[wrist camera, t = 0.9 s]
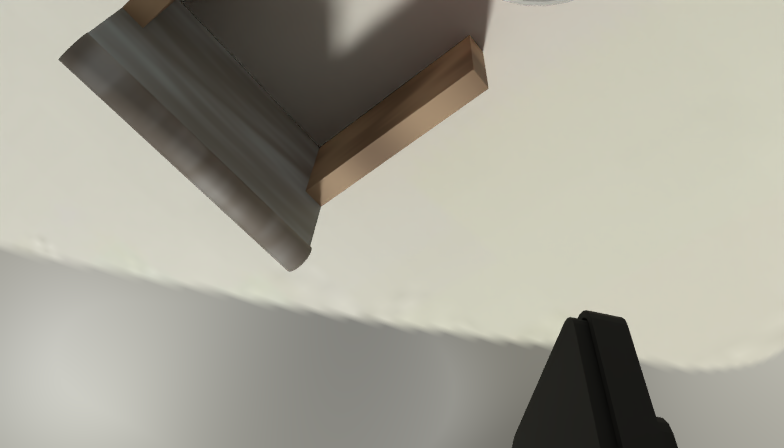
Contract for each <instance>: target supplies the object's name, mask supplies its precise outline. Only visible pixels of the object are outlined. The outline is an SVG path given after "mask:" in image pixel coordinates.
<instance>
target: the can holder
mask: <svg viewBox="0 0 784 448" xmlns="http://www.w3.org/2000/svg"><path fill="white" fill-rule="evenodd" d="M59 61H61V62H62V63H63V64H64V65H65V66H66V67H67V68H68V69H69V70H70V71H71V72H72V73H74V74H75V75H76V76H77V77H78V78H79V79H80V80H81V81H82V82H83V83H84V84H85V85H87V86H88V87H89V88H90V89H91V90H92V91H93V92H94V93H95V94H96V95H97V96H99V97H100V98H101V99H102V100H103V101H104V102H105V103H106V104H107V105H108V106H109V107H110V108H112V109H113V110H114V111H115V112H116V113H117V114H118V115H119V116H120V117H121V118H122V119H123V120H125V121H126V122H127V123H128V124H129V125H130V126H131V127H132V128H133V129H134V130H135V131H137V132H138V133H139V134H140V135H141V136H142V137H143V138H144V139H145V140H146V141H147V142H148V143H150V144H151V145H152V146H153V147H154V148H155V149H156V150H157V151H158V152H159V153H160V154H161V155H163V156H164V157H165V158H166V159H167V160H168V161H169V162H170V163H171V164H172V165H173V166H174V167H176V168H177V169H178V170H179V171H180V172H181V173H182V174H183V175H184V176H185V177H186V178H188V179H189V180H190V181H191V182H192V183H193V184H194V185H195V186H196V187H197V188H198V189H199V190H201V191H202V192H203V193H204V194H205V195H206V196H207V197H208V198H209V199H210V200H211V201H212V202H214V203H215V204H216V205H217V206H218V207H219V208H220V209H221V210H222V211H223V212H224V213H226V214H227V215H228V216H229V217H230V218H231V219H232V220H233V221H234V222H235V223H236V224H237V225H239V226H240V227H241V228H242V229H243V230H244V231H245V232H246V233H247V234H248V235H249V236H250V237H252V238H253V239H254V240H255V241H256V242H257V243H258V244H259V245H260V246H261V247H262V248H263V249H265V250H266V251H267V252H268V253H269V254H270V255H271V256H272V257H273V258H274V259H275V260H277V261H278V262H279V263H280V264H281V265H282V266H283V267H284V268H285V269H286V270H287V271H289V272H290V271H293V270H295V269H297V268H298V267H299V266H301V265H302V264H303V263H304V262H305V260H306V259H307V258H308V256H309V255H310V253H311V249H312V248H311V247H310V244H311V241H312V237H313V234H314V230H315V226H316V223H317V219H318V215H319V212H320V208H321V206H323V205H324V204H325V203H327V202H328V201H330V200H331V199H332V198H334V197H335V196H337V195H338V194H340V193H341V192H342V191H344V190H345V189H347V188H348V187H349V186H351V185H352V184H354V183H355V182H357V181H358V180H359V179H361V178H362V177H364V176H365V175H367V174H368V173H369V172H371V171H372V170H374V169H375V168H376V167H378V166H379V165H381V164H382V163H384V162H385V161H386V160H388V159H389V158H391V157H392V156H393V155H395V154H396V153H398V152H399V151H401V150H402V149H403V148H405V147H406V146H408V145H409V144H410V143H412V142H413V141H415V140H416V139H418V138H419V137H420V136H422V135H423V134H425V133H426V132H427V131H429V130H430V129H432V128H433V127H435V126H436V125H437V124H439V123H440V122H442V121H443V120H445V119H446V118H447V117H449V116H450V115H452V114H453V113H454V112H456V111H457V110H459V109H460V108H462V107H463V106H464V105H466V104H467V103H469V102H470V101H471V100H473V99H474V98H476V97H477V96H479V95H480V94H481V93H483V92H484V91H486V90H487V89H488V82H487V76H486V69H485V63H484V56H483V52H482V51H481V49H480V48H479V47H478V45H477V44H476V43H475V41H474V40H473V39H472V37H471V36H470V35H469V36H468V37H466V38H465V39H464V40H462V41H461V42H460V43H458V44H457V45H456V46H454V47H453V48H452V49H450V50H449V51H448V52H446V53H445V54H444V55H442V56H441V57H440V58H438V59H437V60H436V61H434V62H433V63H432V64H430V65H429V66H428V67H426V68H425V69H424V70H422V71H421V72H420V73H418V74H417V75H416V76H414V77H413V78H412V79H410V80H409V81H408V82H406V83H405V84H404V85H402V86H401V87H400V88H398V89H397V90H396V91H394V92H393V93H392V94H390V95H389V96H388V97H386V98H385V99H384V100H382V101H381V102H380V103H378V104H377V105H376V106H374V107H373V108H372V109H371V110H369V111H368V112H367V113H365V114H364V115H363V116H361V117H360V118H359V119H357V120H356V121H355V122H353V123H352V124H351V125H349V126H348V127H347V128H345V129H344V130H343V131H341V132H340V133H339V134H337V135H336V136H335V137H333V138H332V139H331V140H329V141H328V142H327V143H325V144H324V145H323V146H321V147H320V148H319V147H318V146H317V145H316V144H315V143H314V142H313V141H312V140H311V138H310V137H309V136H308V135H307V134H306V133H305V132H304V131H303V130H302V129H301V128H300V127H299V126H298V125H297V124H296V123H295V122H294V121H293V120H292V119H291V117H290V116H289V115H288V114H287V113H286V112H285V111H284V110H283V109H282V108H281V107H280V106H279V105H278V104H277V103H276V102H275V101H274V100H273V99H272V98H271V96H270V95H269V94H268V93H267V92H266V91H265V90H264V89H263V88H262V87H261V86H260V85H259V84H258V83H257V82H256V81H255V80H254V79H253V78H252V76H251V75H250V74H249V73H248V72H247V71H246V70H245V69H244V68H243V67H242V66H241V65H240V64H239V63H238V62H237V61H236V60H235V59H234V58H233V57H232V55H231V54H230V53H229V52H228V51H227V50H226V49H225V48H224V47H223V46H222V45H221V44H220V43H219V42H218V41H217V40H216V39H215V38H214V37H213V36H212V34H211V33H210V32H209V31H208V30H207V29H206V28H205V27H204V26H203V25H202V24H201V23H200V22H199V21H198V20H197V19H196V18H195V17H194V16H193V14H192V13H191V12H190V11H189V10H188V9H187V8H186V7H185V6H184V5H183V4H182V3H181V2H180V1H179V0H129V1H128V2H127V3H126V4H125V5H124V6H123V7H122V8H121V9H120V10H118V11H117V12H116V13H114V14H113V15H112V16H110V17H109V18H108V19H106V20H105V21H103V22H102V23H101V24H99V25H98V26H97V27H95V28H94V29H93V30H91V31H90V32H88V33H86V34H85V35H83V36H82V37H81V38H80V39H79V40H77V41H76V42H75V43H74V44H73V45H72V46H71V47H70V48H69V49H68V50H67V51H66V52H65V53H64V54H63V55H62V56H61V57H60V58H59Z"/></svg>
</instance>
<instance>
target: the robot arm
mask: <svg viewBox="0 0 784 448" xmlns="http://www.w3.org/2000/svg"><path fill="white" fill-rule="evenodd" d="M512 448H678V447H677V444H676V441H675V438H674V435H673V432H672V430H671V428H670V426H669V424H668V423H667V422H666V421H665V420H664V419H663V418H660V417H656V415H655V412H654V409H653V406H652V403H651V399H650V396H649V393H648V390H647V386H646V383H645V380H644V377H643V373H642V370H641V367H640V364H639V360H638V357H637V354H636V351H635V348H634V344H633V341H632V338H631V335H630V331H629V328H628V325H627V323H626V321H625V319H623V318H622V317H617V316H612V315H607V314H602V313H597V312H592V311H587V310H586V311H583V312H582V313H581V314H580V315H579V317H578V319H577V318H572V317H569V318H567V319H566V321H565V323H564V324H563V327H562V329H561V331H560V334H559V336H558V338H557V340H556V343H555V345H554V347H553V349H552V352H551V354H550V356H549V359H548V361H547V363H546V365H545V368H544V370H543V372H542V375H541V377H540V379H539V381H538V384H537V386H536V388H535V390H534V393H533V395H532V398H531V400H530V402H529V404H528V407H527V409H526V411H525V413H524V416H523V418H522V420H521V423H520V425H519V427H518V429H517V432H516V434H515V437H514V441H513V445H512Z"/></svg>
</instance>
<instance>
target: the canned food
mask: <svg viewBox="0 0 784 448" xmlns="http://www.w3.org/2000/svg"><path fill="white" fill-rule="evenodd" d="M503 1H507V2H511V3H516V4H520V5H525V6H549V5H555V4H561V3H566V2H570V1H573V0H503Z"/></svg>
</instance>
